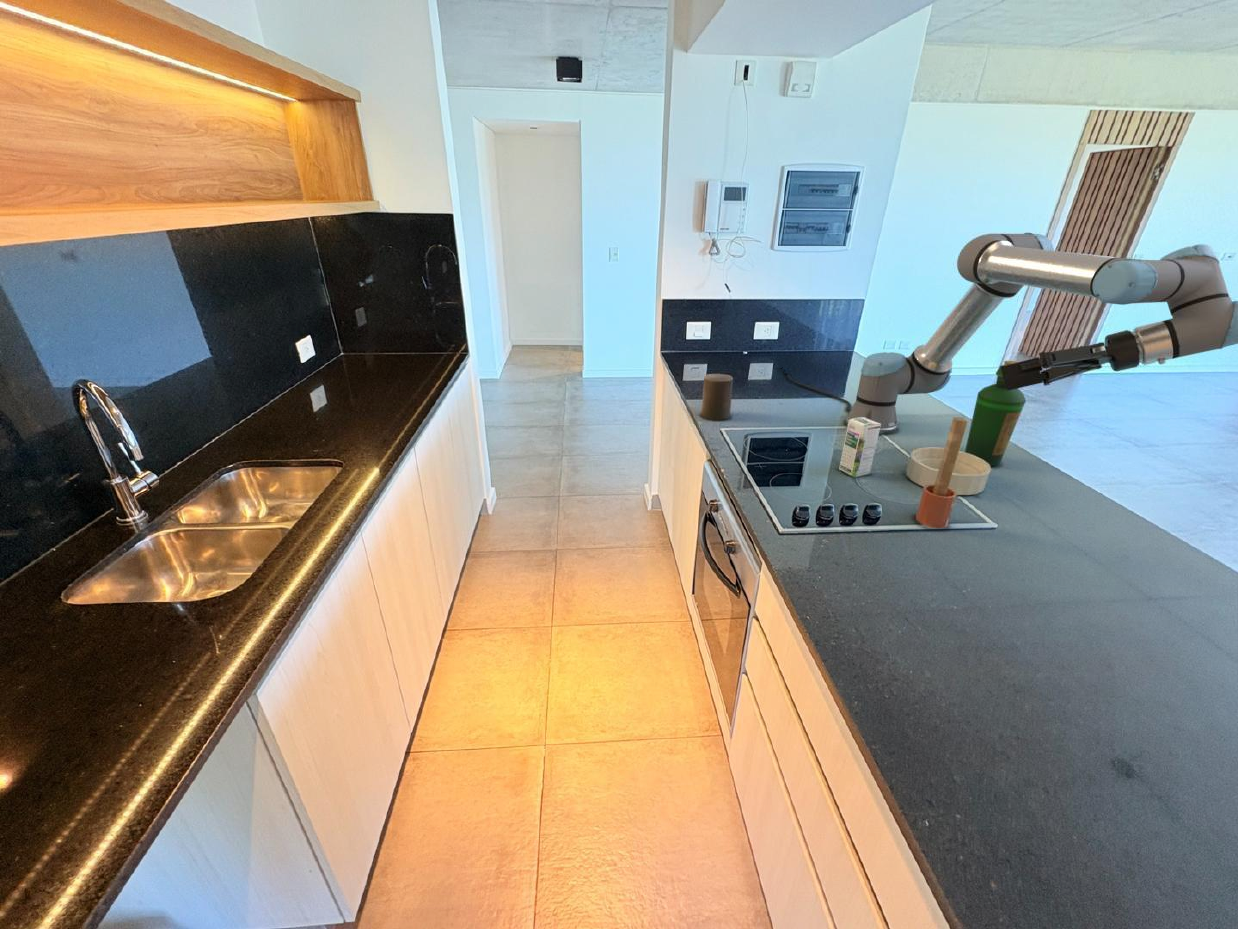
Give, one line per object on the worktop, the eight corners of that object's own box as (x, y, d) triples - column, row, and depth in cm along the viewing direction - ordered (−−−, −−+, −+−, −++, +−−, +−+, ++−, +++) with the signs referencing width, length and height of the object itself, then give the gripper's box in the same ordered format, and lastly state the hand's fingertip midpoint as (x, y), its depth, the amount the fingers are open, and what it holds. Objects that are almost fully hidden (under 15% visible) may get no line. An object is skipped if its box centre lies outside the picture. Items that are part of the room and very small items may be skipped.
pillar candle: (717, 422, 176) (721, 378, 170) (695, 415, 183) (698, 373, 176) (735, 416, 182) (739, 373, 176) (713, 409, 188) (716, 368, 182)
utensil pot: (908, 517, 120) (917, 485, 116) (933, 514, 121) (941, 483, 118) (928, 531, 114) (937, 499, 111) (953, 528, 115) (963, 496, 112)
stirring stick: (924, 522, 117) (952, 420, 107) (921, 517, 119) (949, 416, 108) (941, 523, 116) (971, 421, 106) (938, 519, 118) (967, 417, 108)
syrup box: (837, 469, 143) (847, 419, 137) (854, 465, 145) (864, 415, 139) (854, 478, 138) (864, 426, 132) (870, 474, 140) (882, 422, 134)
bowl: (890, 470, 142) (895, 450, 140) (947, 464, 145) (952, 444, 143) (939, 501, 127) (945, 478, 124) (1001, 494, 130) (1008, 472, 127)
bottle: (1011, 470, 142) (1046, 368, 130) (967, 467, 144) (998, 366, 132) (994, 455, 151) (1025, 358, 140) (953, 452, 153) (980, 356, 142)
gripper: (1150, 351, 93) (1004, 385, 106) (1133, 377, 112) (1011, 404, 125) (1138, 311, 94) (995, 350, 107) (1123, 344, 113) (1003, 374, 126)
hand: (1003, 379), depth 116 cm, fingers open, 13 cm apart
